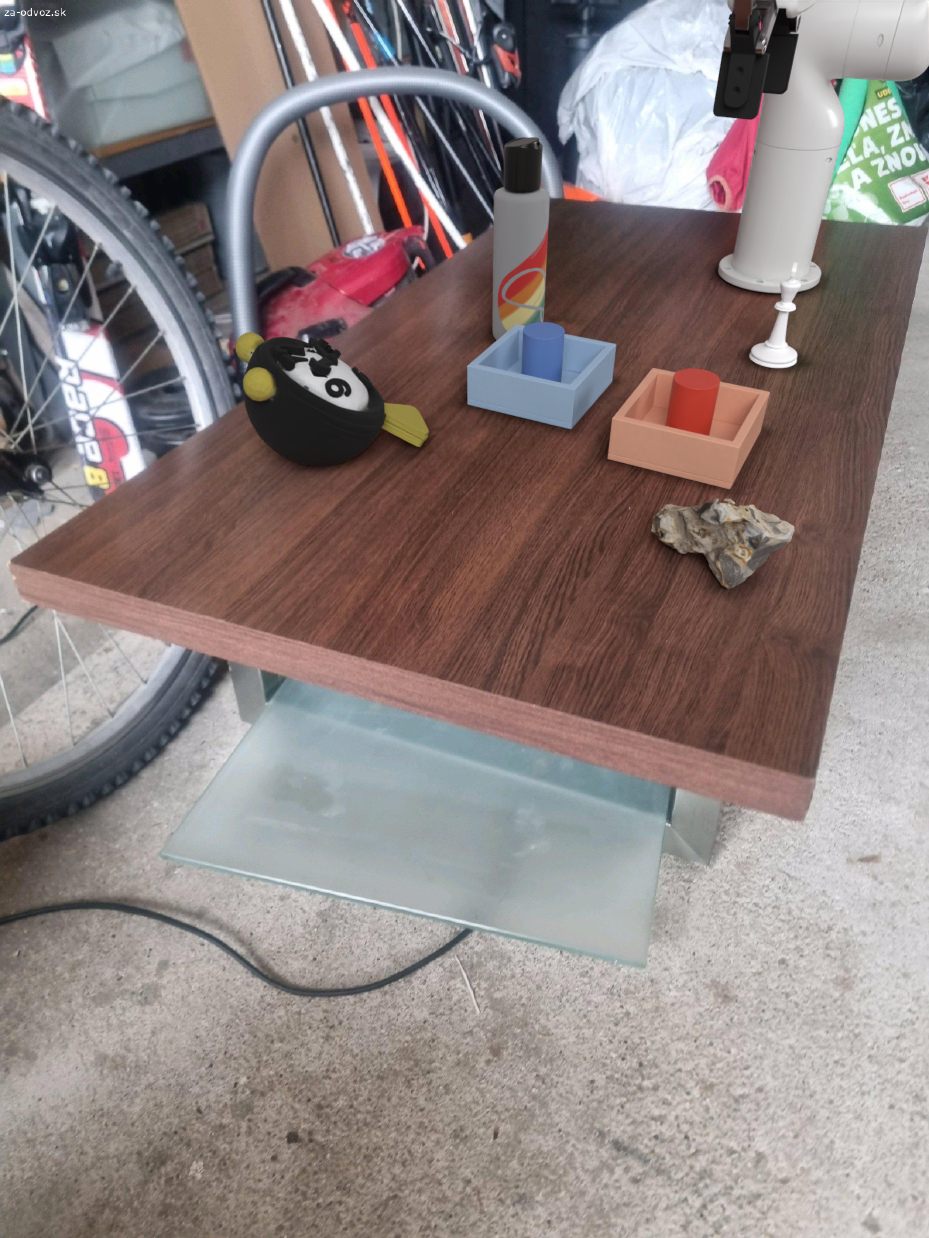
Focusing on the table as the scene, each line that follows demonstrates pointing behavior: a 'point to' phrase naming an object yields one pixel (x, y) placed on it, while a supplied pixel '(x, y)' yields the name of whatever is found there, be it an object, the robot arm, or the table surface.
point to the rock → (723, 536)
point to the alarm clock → (316, 402)
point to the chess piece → (779, 330)
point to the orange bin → (687, 432)
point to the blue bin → (540, 380)
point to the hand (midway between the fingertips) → (750, 104)
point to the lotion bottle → (520, 238)
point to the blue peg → (543, 350)
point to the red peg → (693, 400)
